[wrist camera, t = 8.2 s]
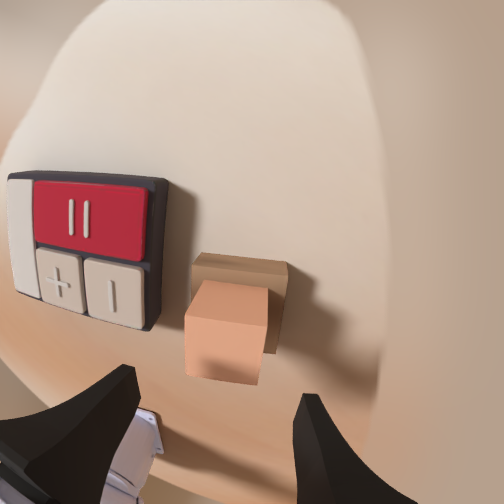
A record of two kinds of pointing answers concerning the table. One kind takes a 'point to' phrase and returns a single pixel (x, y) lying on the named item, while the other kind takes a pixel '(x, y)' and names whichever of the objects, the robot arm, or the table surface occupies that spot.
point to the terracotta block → (226, 332)
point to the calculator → (89, 242)
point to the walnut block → (247, 283)
